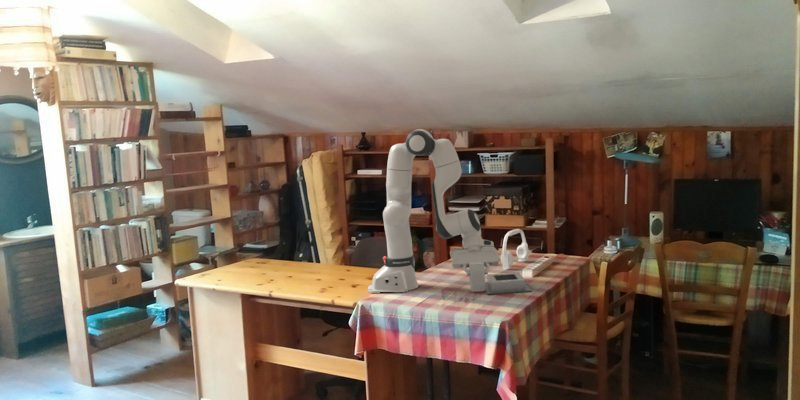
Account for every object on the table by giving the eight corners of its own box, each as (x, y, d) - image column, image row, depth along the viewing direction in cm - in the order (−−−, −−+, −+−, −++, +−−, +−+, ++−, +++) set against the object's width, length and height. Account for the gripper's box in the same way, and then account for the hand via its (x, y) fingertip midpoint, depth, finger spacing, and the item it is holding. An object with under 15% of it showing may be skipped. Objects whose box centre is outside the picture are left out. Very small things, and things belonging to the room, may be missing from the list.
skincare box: (484, 288, 277) (483, 261, 275) (485, 291, 272) (484, 263, 271) (469, 289, 277) (468, 262, 275) (471, 292, 272) (470, 264, 271)
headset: (510, 271, 303) (509, 234, 301) (497, 269, 308) (496, 233, 306) (531, 262, 318) (530, 226, 316) (519, 261, 323) (517, 225, 321)
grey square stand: (488, 295, 266) (487, 284, 266) (482, 284, 284) (481, 273, 284) (531, 291, 266) (531, 281, 266) (522, 281, 284) (522, 270, 284)
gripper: (449, 244, 279) (452, 272, 270) (496, 241, 279) (501, 268, 270) (449, 252, 284) (452, 279, 275) (495, 249, 284) (500, 276, 275)
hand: (477, 274), depth 273 cm, fingers closed on skincare box, 6 cm apart
